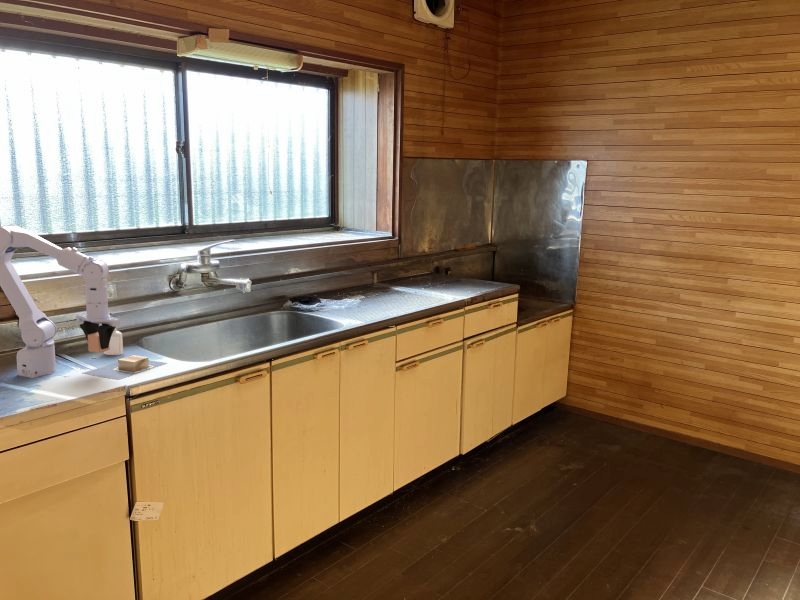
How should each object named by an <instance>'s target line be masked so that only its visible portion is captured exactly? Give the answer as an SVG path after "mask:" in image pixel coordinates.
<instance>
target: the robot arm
mask: <svg viewBox="0 0 800 600" xmlns="http://www.w3.org/2000/svg"><path fill="white" fill-rule="evenodd" d="M24 247H25V248H26V247H27V248H29V249H31V250H32V249H33V250H34V251H37V252H39V253H42V254H45V255H46V256H50V257H51V258H53V259H56V261H57V264H58V266H60V267H62V268H65V269H67V270H69V271H71V272H73V273H75V274H78V275H80V276H81V277H82V278H83V280H84V282H85V289H84V290H85V306H86V310H85V311H86V313H78V314H76V315H75V316H76V322H83V323H80V324H79V328H80V329H81V330H82V333H84V335H85V338H86V340H87V342H88V335H89V334H93V333H97V332H98V334H99V338H100V346H101V349H106V348H108V347H109V342H110V339H111V336H112V333H113V331H114V329H115V328H116V326H117V327H119V326H120V318H116V317H113V316H111V314H109V301H108V300H109V298H108V297H109V295H108V281H107V276H109V272H110V269H109V268H110V267H109V266H108V264H107V263H106V262H105V261H104V260H102V259H95V257H94V256H88V255H86V254H84V253H81V252H80V251H79V249H78V248H76V247H72V248H71V247H64V248H62V247H60V246H58V245H56V244H55V243H52V242H50V241H49V240H47V239H44V238H43V237H41V236H39V235H37V234H36V233H33V232H31V231H30V230H28V229H26V228H23V227H22V228H21V227H20V226H18V225H16V224H8V225H7V224H6V225H4V226H3V225H2V226H0V288H1V290H2V291H3V292H4V295H5V296H6V298H7V300H8V301H9V303H10V304H11V306H12V308H13V310H14V312H15V313H16V315H17V317H18V318H19V320H18V328H19V330H20V333H21V339H22V341H23V343H24V344H25V347H23V348H21V349H19V350H18V351H17V353H16V370H17V372H16V373H17V376H20V377H25V378H30V379H34V378H37V377H40V376H45V375H50V374H53V373H56V371H57V369H56V368H57V367H56V366H57V365H56V350H55V340H54V337H56V335H57V332H58V331H57V330H58V329H57V325H56V324H55V322H54V321H52V320H51V319H49V318H48V316H47V314H46V313H45V312H43V311H42V310H40V309H39V308H38V306H37V305H36V303H35V301H34V300H33V297H32V296H31V295H30V293H29V291H28V289H27V287H26V285H25V284H24V282H23V281H22V279H21V276H20V275H19V274H18V272H17V270H16V269H15V267H14V265H13V263H12V262H11V260H12V257H13V255H14V253H15V252H16V250H17V249H18V248H24Z"/></svg>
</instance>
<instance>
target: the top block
mask: <svg viewBox="0 0 800 600" xmlns="http://www.w3.org/2000/svg"><path fill="white" fill-rule="evenodd" d="M87 348H88V349H87V350H88V352H90V353H96V354H101V353H104V352H105V351H108V350H110V346H109V347H108V348H106V349H101V346H100V338H99V334H98V332H97V333H93V334H89V335H88V341H87Z"/></svg>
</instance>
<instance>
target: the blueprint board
mask: <svg viewBox="0 0 800 600" xmlns="http://www.w3.org/2000/svg"><path fill="white" fill-rule="evenodd" d="M148 360H149V367H147V368H144V369H141V370H138V371H135V372H132V371H126V370H120V369H118V361H117V362H114V363H110V364H107V365H104V366H101V367H97V368H95V369H90V370H89V371H84V372H81V374H83V375H88V376H89V375H90V376H95V377H100V378H105V379H110V380H115V381H120V380H122V379H126V378H129V377H132V376H134V375H138V374H140V373H144V372H146V371H149V370H152V369H155V368H158V367H161V366H163V365H166V364H168V363H167V362H163V361H157V360H156V361H155V360H150V359H148Z"/></svg>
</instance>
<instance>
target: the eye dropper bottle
mask: <svg viewBox="0 0 800 600" xmlns="http://www.w3.org/2000/svg"><path fill="white" fill-rule="evenodd" d="M117 329H118V326H116V328H115V329H114V331H113V333H112V336H111V339H110V342H109V346H110V350H108V351H105V352H103V353H104V355H107V356H108V355H109V356H120V355H123V354H124V347H123V346H124V344H123V343H124V341H123V332H121V331H119V330H117Z"/></svg>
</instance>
